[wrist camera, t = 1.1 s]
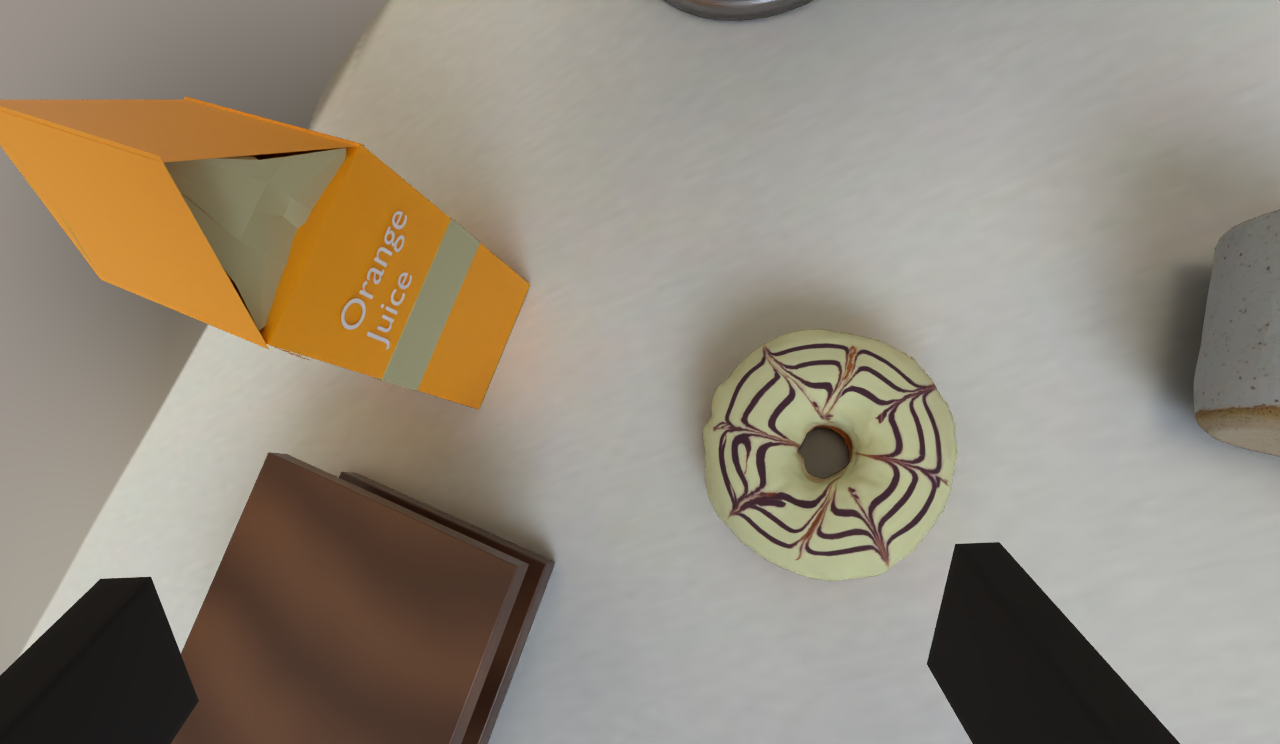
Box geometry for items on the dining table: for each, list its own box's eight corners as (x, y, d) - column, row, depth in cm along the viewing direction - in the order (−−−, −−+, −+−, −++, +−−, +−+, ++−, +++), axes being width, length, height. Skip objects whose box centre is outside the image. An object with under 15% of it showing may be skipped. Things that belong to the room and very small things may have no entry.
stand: (352, 460, 36) (268, 452, 30) (568, 556, 32) (518, 566, 26) (249, 705, 35) (140, 744, 29) (463, 838, 30) (385, 914, 25)
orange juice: (407, 242, 38) (19, -20, 19) (532, 283, 36) (228, 25, 17) (354, 363, 37) (-106, 213, 18) (478, 413, 35) (93, 299, 16)
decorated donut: (686, 532, 31) (670, 536, 27) (742, 324, 32) (734, 301, 29) (912, 604, 28) (928, 618, 24) (963, 371, 29) (985, 352, 26)
